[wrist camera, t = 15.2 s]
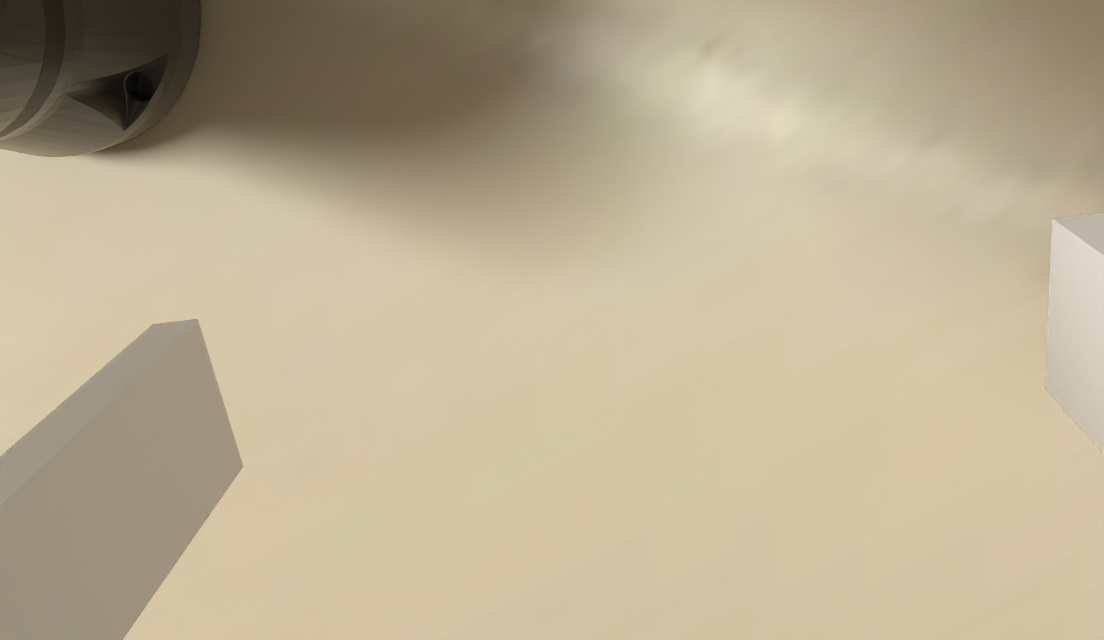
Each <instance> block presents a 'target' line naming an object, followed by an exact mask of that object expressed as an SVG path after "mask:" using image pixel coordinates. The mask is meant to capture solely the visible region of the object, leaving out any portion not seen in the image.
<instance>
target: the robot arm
mask: <svg viewBox="0 0 1104 640" xmlns="http://www.w3.org/2000/svg"><path fill="white" fill-rule="evenodd" d="M199 32H200V4H199V0H0V149H5V150H10V151H15V152H20V153H24V154H30V155H36V156H46V157H66V156H77V155H83V154H88V153H92V152H96V151H99V150H102V149H105V148H108V147H111V146H114V145H117V144H120V143H123V142H126V141H128V140H130V139H132V138H134V137H136V136H138V135H140V134H141V133H143V132H144V131H146V130H147V129H149V128H150V127H152V126H153V125H154V124H155V123H156V122H158V121H159V120H160V119H161V118H162V117H163V116H164V115H165V114H166V113H167V111H168V110H169V109H170V108H171V107H172V105H173V104H174V103H175V101H176V100H177V98H178V97H179V95H180V93H181V92H182V90H183V88H184V86H185V84H186V82H187V80H188V78H189V75H190V73H191V70H192V67H193V64H194V60H195V57H196V52H197V48H198V41H199ZM1045 389H1046V390H1047V391H1048V392H1049V394H1050V395H1051V396H1052V397H1053V398H1054V399H1055V400H1056V402H1057V403H1058V404H1059V405H1060V406H1061V407H1062V408H1063V410H1064V411H1065V412H1066V413H1067V414H1068V415H1069V416H1070V417H1071V419H1072V420H1073V421H1074V422H1075V423H1076V424H1077V425H1078V427H1079V428H1080V429H1081V430H1082V431H1083V432H1084V433H1085V435H1086V436H1087V437H1088V438H1089V439H1090V440H1091V441H1092V443H1093V444H1094V445H1095V446H1096V447H1097V448H1098V449H1099V451H1100V452H1101V453H1102V454H1103V455H1104V213H1095V214H1087V215H1078V216H1070V217H1061V218H1053V219H1052V236H1051V259H1050V282H1049V306H1048V329H1047V352H1046V376H1045ZM242 467H243V464H242V461H241V458H240V454H239V451H238V448H237V445H236V442H235V438H234V435H233V432H232V429H231V425H230V422H229V419H228V416H227V412H226V409H225V406H224V403H223V399H222V396H221V393H220V390H219V387H218V383H217V380H216V377H215V374H214V370H213V367H212V364H211V361H210V357H209V354H208V351H207V348H206V344H205V341H204V338H203V335H202V332H201V328H200V325H199V322H198V319H194V320H185V321H176V322H168V323H159V324H153V325H152V326H151V327H149V328H148V329H147V330H146V331H145V332H144V333H142V334H141V335H140V336H139V337H138V338H137V339H136V340H134V341H133V342H132V343H131V344H130V345H129V346H127V347H126V348H125V349H124V350H123V351H122V352H121V353H119V354H118V355H117V356H116V357H115V358H114V359H112V360H111V361H110V362H109V363H108V364H107V365H105V366H104V367H103V368H102V369H101V370H100V371H99V372H97V373H96V374H95V375H94V376H93V377H92V378H90V379H89V380H88V381H87V382H86V383H85V384H84V385H82V386H81V387H80V388H79V389H78V390H77V391H75V392H74V393H73V394H72V395H71V396H70V397H69V398H67V399H66V400H65V401H64V402H63V403H62V404H60V405H59V406H58V407H57V408H56V409H55V410H54V411H52V412H51V413H50V414H49V415H48V416H47V417H45V418H44V419H43V420H42V421H41V422H40V423H38V424H37V425H36V426H35V427H34V428H33V429H32V430H30V431H29V432H28V433H27V434H26V435H25V436H23V437H22V438H21V439H20V440H19V441H18V442H17V443H15V444H14V445H13V446H12V447H11V448H10V449H8V450H7V451H6V452H5V453H4V454H3V455H2V456H0V640H123V638H124V637H125V636H126V634H127V633H128V631H129V630H130V628H131V627H132V625H133V624H134V623H135V621H136V620H137V618H138V617H139V615H140V614H141V613H142V611H143V610H144V608H145V607H146V605H147V604H148V602H149V601H150V600H151V598H152V597H153V595H154V594H155V592H156V591H157V590H158V588H159V587H160V585H161V584H162V582H163V581H164V579H165V578H166V577H167V575H168V574H169V572H170V571H171V569H172V568H173V567H174V565H175V564H176V562H177V561H178V559H179V558H180V556H181V555H182V554H183V552H184V551H185V549H186V548H187V546H188V545H189V544H190V542H191V541H192V539H193V538H194V536H195V535H196V533H197V532H198V531H199V529H200V528H201V526H202V525H203V523H204V522H205V521H206V519H207V518H208V516H209V515H210V513H211V512H212V510H213V509H214V508H215V506H216V505H217V503H218V502H219V500H220V499H221V498H222V496H223V495H224V493H225V492H226V490H227V489H228V487H229V486H230V485H231V483H232V482H233V480H234V479H235V477H236V476H237V475H238V473H239V472H240V470H241V469H242Z"/></svg>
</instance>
